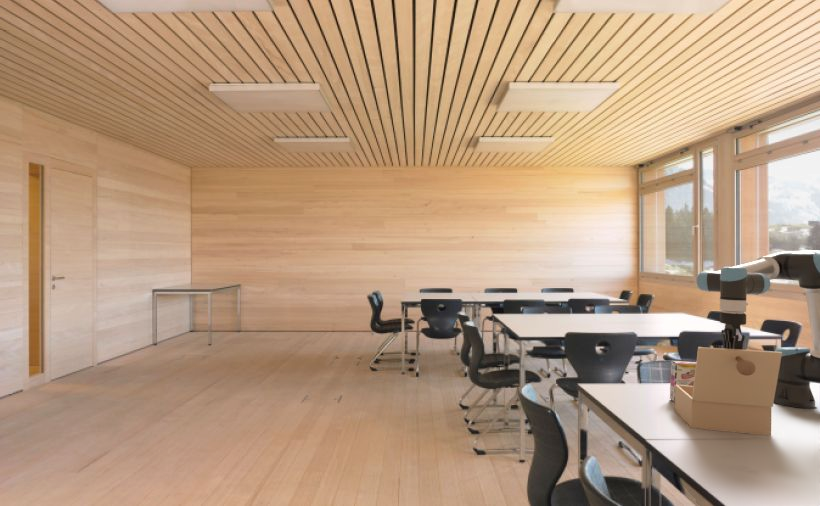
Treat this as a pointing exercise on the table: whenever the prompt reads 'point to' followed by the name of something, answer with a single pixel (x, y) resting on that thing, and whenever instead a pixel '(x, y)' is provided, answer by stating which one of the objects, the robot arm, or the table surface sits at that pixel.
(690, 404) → the wooden box
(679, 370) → the candy bar box
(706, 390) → the wooden lid with knob
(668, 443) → the table surface
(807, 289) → the robot arm
